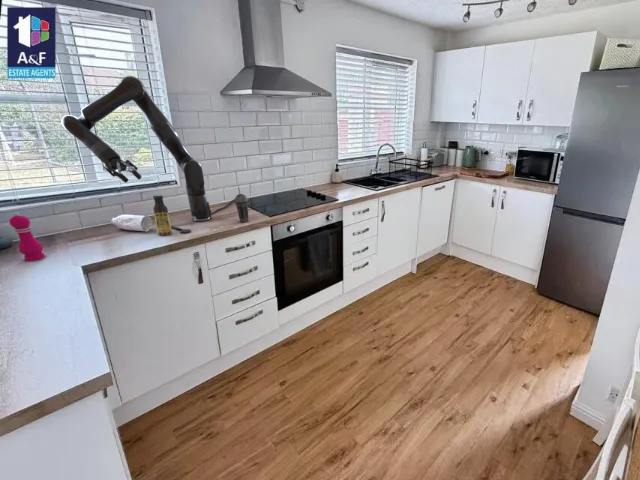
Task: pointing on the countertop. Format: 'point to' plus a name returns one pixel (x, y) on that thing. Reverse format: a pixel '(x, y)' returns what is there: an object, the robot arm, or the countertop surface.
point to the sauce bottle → (161, 216)
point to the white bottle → (133, 222)
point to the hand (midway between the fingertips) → (134, 179)
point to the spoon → (181, 230)
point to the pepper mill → (26, 238)
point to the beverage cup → (242, 207)
